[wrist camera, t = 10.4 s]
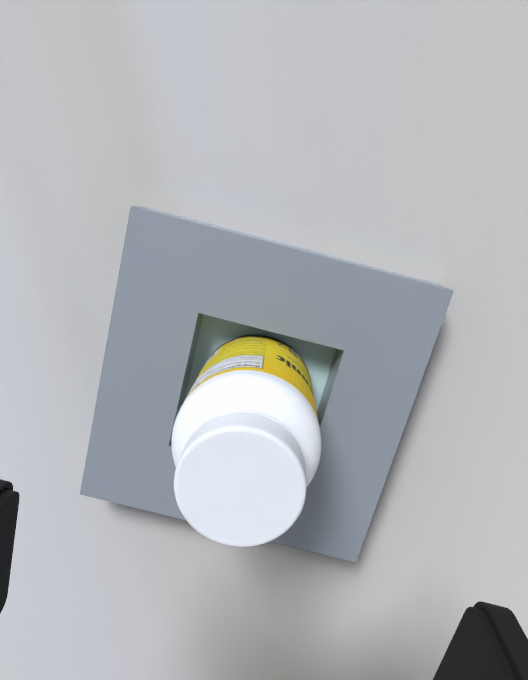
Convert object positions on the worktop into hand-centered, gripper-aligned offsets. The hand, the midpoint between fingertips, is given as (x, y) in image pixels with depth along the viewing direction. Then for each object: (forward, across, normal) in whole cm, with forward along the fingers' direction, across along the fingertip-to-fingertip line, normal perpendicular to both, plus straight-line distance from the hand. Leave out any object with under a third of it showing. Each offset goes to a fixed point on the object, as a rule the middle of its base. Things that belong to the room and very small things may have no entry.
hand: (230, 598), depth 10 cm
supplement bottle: (+14, 0, +1) cm, 14 cm away
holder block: (+15, 0, +1) cm, 15 cm away
